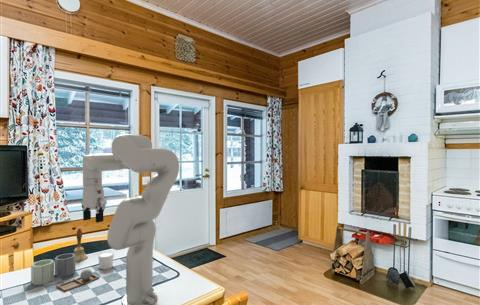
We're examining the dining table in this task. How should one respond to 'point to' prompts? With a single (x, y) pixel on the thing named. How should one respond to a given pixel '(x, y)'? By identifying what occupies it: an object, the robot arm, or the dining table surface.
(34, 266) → the green ribbed pot
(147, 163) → the robot arm
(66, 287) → the holder
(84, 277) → the grey ball
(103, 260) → the white cylinder
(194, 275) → the dining table surface
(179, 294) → the dining table surface
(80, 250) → the hand bell
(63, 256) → the grey ribbed bin
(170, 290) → the dining table surface
